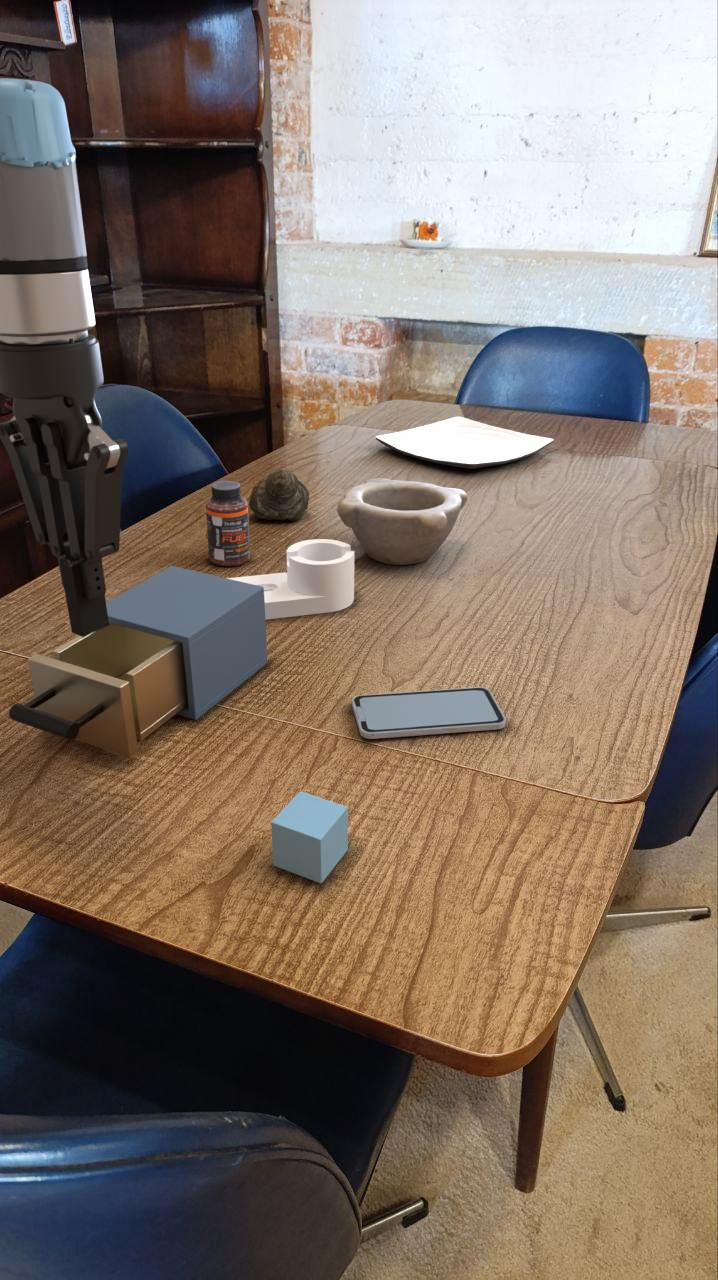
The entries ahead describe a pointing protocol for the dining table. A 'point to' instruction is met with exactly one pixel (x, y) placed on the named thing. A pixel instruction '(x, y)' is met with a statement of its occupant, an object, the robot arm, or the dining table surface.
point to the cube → (310, 836)
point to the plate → (464, 443)
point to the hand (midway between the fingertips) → (90, 628)
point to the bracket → (309, 580)
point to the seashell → (279, 497)
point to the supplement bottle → (227, 525)
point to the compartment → (200, 628)
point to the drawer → (106, 688)
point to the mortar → (401, 518)
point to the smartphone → (427, 712)
